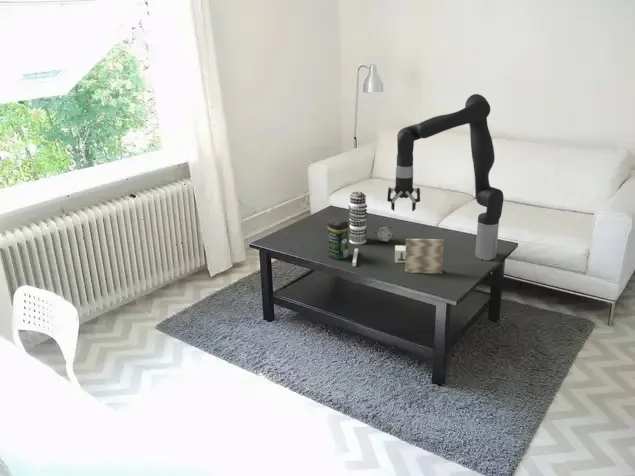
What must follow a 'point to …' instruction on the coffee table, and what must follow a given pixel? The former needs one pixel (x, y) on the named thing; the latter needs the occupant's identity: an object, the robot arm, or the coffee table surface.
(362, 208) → the decorative candle
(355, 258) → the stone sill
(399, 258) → the letter cube
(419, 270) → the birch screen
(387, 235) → the game die
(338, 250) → the coffee jar
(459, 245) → the coffee table surface
